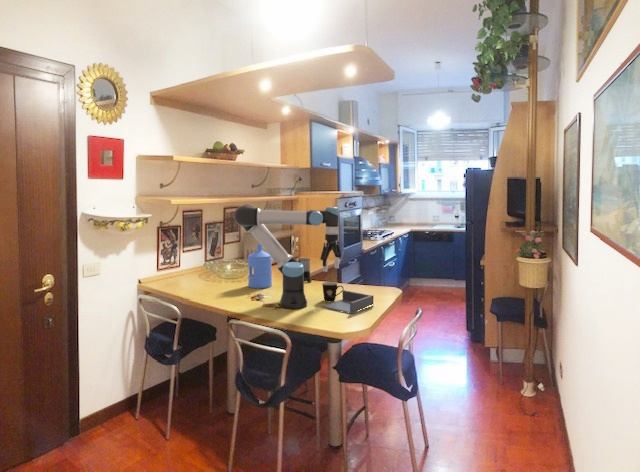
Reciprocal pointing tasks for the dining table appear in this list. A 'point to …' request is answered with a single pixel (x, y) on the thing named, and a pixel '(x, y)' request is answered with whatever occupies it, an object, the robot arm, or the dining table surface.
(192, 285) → the dining table surface
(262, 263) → the water jug
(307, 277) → the milk frother
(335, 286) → the coffee mug
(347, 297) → the corner arena
